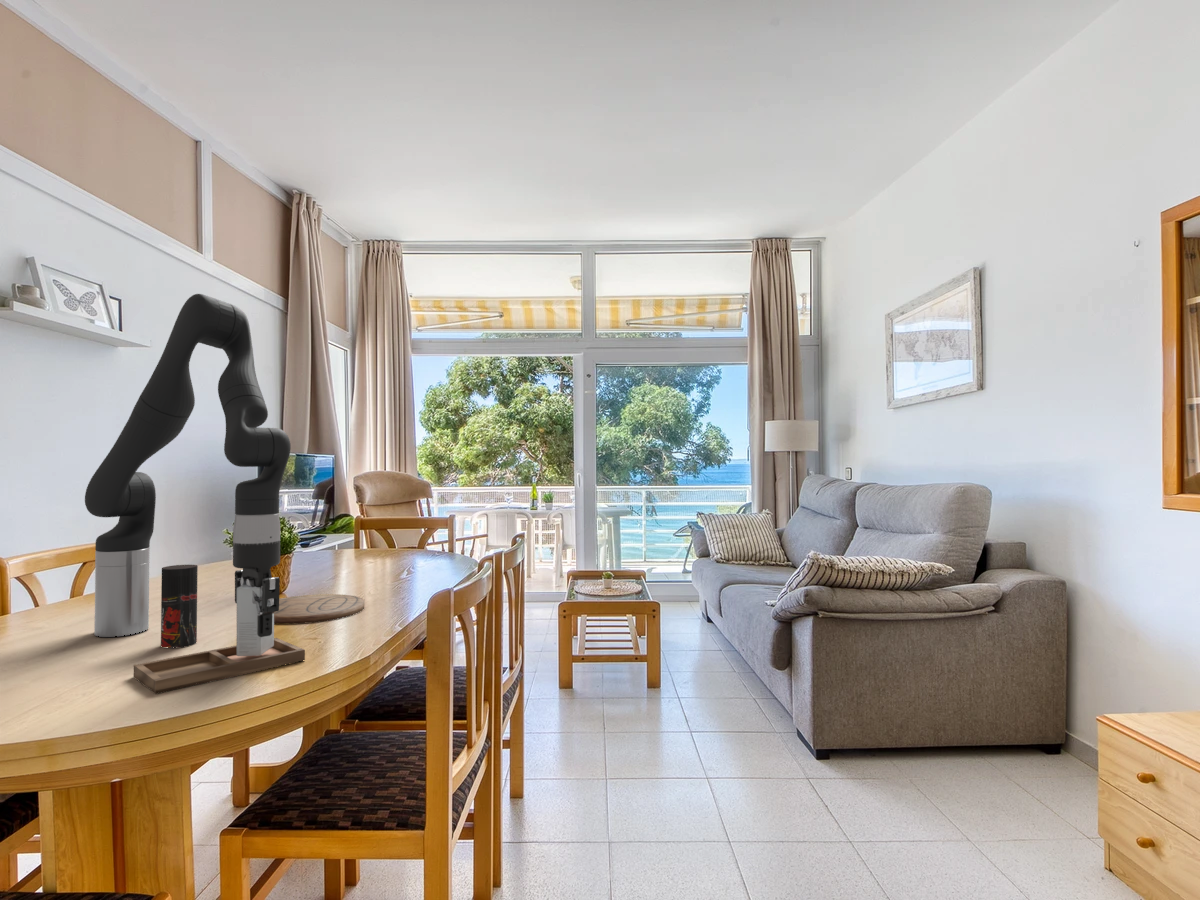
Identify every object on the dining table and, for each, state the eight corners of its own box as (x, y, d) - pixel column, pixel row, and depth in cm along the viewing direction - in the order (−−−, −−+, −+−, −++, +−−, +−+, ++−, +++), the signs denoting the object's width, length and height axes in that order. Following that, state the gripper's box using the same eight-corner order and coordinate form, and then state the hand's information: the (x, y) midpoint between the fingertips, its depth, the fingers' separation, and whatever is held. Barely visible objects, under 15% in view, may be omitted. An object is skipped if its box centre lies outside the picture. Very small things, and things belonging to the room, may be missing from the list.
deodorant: (203, 642, 133) (204, 565, 133) (173, 649, 127) (174, 570, 128) (184, 638, 135) (184, 563, 135) (153, 646, 130) (154, 568, 130)
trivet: (234, 627, 146) (234, 618, 146) (267, 603, 170) (267, 596, 170) (356, 622, 150) (356, 613, 151) (371, 599, 175) (371, 592, 175)
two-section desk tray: (133, 677, 111) (133, 664, 111) (276, 648, 128) (276, 637, 128) (155, 694, 103) (155, 680, 103) (304, 660, 120) (304, 649, 120)
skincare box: (250, 647, 123) (251, 581, 123) (274, 646, 123) (275, 580, 123) (234, 656, 117) (235, 587, 117) (260, 656, 117) (261, 587, 117)
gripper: (295, 540, 118) (294, 635, 118) (262, 534, 128) (261, 622, 128) (250, 544, 113) (249, 644, 113) (219, 537, 122) (218, 629, 122)
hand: (255, 632), depth 120 cm, fingers closed on skincare box, 7 cm apart
